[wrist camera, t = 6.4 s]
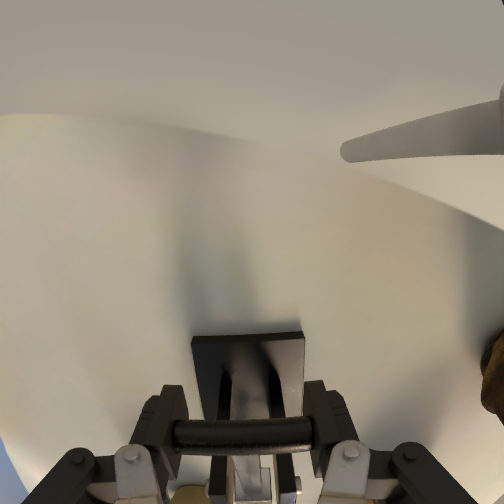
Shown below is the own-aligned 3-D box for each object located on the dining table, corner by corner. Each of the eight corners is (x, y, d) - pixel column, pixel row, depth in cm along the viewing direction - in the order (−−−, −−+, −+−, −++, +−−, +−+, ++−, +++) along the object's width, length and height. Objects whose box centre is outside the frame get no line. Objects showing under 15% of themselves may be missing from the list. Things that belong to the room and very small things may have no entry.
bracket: (192, 335, 24) (156, 455, 12) (302, 330, 24) (342, 449, 12) (210, 433, 27) (198, 537, 15) (298, 429, 27) (317, 533, 15)
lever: (175, 402, 10) (168, 458, 8) (309, 397, 10) (318, 454, 8) (218, 477, 17) (217, 507, 15) (289, 475, 17) (292, 504, 15)
